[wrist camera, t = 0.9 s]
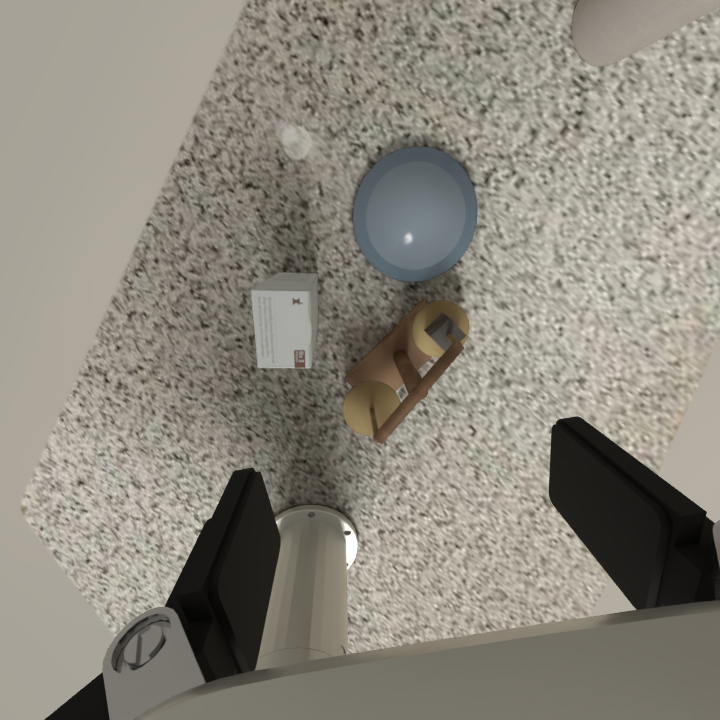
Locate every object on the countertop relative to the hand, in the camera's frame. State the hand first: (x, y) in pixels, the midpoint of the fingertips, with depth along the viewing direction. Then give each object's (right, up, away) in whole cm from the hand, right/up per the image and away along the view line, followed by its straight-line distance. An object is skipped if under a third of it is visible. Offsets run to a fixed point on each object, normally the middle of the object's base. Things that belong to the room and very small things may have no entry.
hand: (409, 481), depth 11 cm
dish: (+4, +18, +23) cm, 29 cm away
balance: (+3, +5, +27) cm, 28 cm away
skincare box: (-8, +10, +25) cm, 28 cm away
